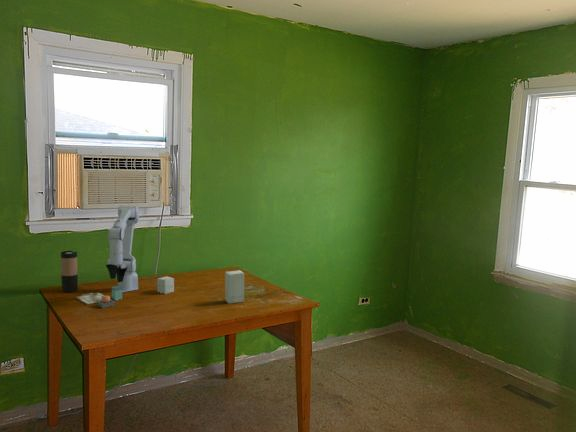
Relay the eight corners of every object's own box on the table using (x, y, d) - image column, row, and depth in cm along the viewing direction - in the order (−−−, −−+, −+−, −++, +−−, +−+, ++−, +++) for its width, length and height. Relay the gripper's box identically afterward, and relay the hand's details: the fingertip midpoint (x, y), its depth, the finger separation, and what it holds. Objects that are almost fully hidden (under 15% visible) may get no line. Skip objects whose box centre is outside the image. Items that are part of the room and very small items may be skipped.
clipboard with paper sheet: (99, 293, 245) (99, 291, 245) (112, 300, 235) (112, 298, 235) (74, 297, 236) (74, 295, 236) (87, 305, 226) (87, 303, 226)
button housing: (109, 302, 230) (109, 298, 230) (115, 305, 226) (115, 301, 226) (96, 305, 226) (96, 301, 226) (102, 308, 222) (102, 304, 222)
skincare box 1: (166, 289, 255) (166, 275, 254) (174, 291, 252) (174, 277, 251) (157, 292, 250) (157, 278, 249) (165, 294, 247) (165, 280, 246)
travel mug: (62, 293, 243) (60, 254, 240) (61, 289, 250) (60, 251, 247) (78, 291, 246) (77, 253, 244) (77, 288, 253) (76, 250, 251)
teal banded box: (118, 297, 239) (118, 285, 238) (122, 299, 237) (122, 287, 236) (111, 298, 237) (111, 286, 236) (115, 300, 234) (115, 288, 233)
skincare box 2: (240, 298, 243) (240, 269, 242) (244, 302, 238) (245, 272, 236) (224, 300, 240) (224, 271, 238) (228, 304, 234) (228, 273, 232)
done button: (108, 301, 228) (107, 295, 228) (111, 303, 226) (111, 296, 226) (100, 302, 226) (100, 296, 226) (104, 304, 223) (103, 298, 223)
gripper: (101, 251, 236) (102, 278, 238) (115, 256, 226) (115, 284, 228) (115, 249, 241) (115, 276, 243) (129, 254, 231) (129, 282, 233)
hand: (116, 280), depth 235 cm, fingers open, 7 cm apart
